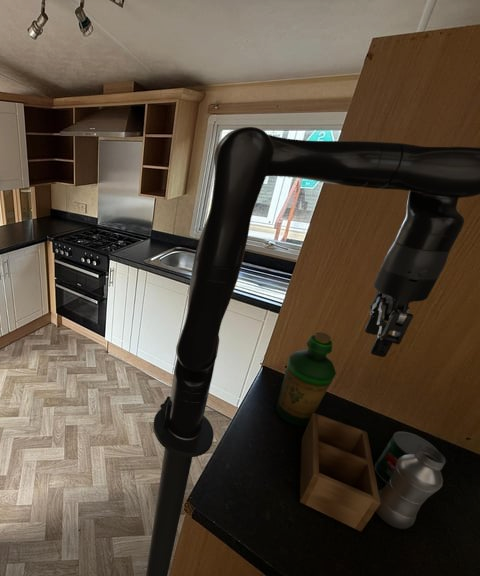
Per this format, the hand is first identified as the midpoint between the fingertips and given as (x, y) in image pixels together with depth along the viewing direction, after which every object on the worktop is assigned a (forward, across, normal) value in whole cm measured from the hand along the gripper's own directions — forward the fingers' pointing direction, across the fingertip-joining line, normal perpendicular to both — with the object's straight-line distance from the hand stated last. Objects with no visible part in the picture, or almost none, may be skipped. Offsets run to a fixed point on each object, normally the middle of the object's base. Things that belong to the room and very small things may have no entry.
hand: (373, 343), depth 63 cm
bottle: (+36, -13, -6) cm, 39 cm away
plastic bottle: (+36, +7, +13) cm, 39 cm away
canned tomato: (+36, -5, +16) cm, 40 cm away
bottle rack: (+36, +4, +2) cm, 36 cm away
